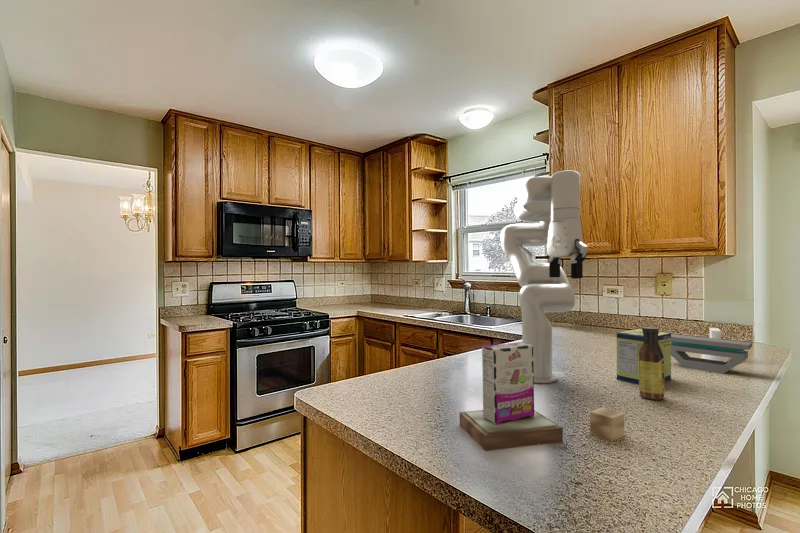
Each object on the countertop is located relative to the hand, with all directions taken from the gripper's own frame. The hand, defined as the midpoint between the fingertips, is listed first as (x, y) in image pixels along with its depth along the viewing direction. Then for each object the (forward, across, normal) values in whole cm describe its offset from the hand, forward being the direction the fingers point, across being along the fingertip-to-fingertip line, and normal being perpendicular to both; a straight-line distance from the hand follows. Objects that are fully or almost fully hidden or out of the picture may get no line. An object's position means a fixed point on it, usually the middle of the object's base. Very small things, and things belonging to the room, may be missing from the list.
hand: (565, 277), depth 114 cm
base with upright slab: (+34, -30, +90) cm, 101 cm away
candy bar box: (+31, +16, -26) cm, 43 cm away
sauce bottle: (+34, +3, +26) cm, 43 cm away
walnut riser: (+34, +16, -26) cm, 46 cm away
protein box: (+35, -13, +39) cm, 54 cm away
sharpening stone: (+35, -19, +72) cm, 82 cm away
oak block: (+34, +22, -5) cm, 41 cm away
